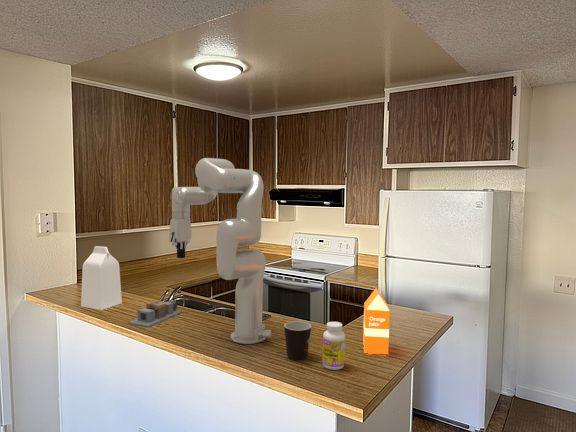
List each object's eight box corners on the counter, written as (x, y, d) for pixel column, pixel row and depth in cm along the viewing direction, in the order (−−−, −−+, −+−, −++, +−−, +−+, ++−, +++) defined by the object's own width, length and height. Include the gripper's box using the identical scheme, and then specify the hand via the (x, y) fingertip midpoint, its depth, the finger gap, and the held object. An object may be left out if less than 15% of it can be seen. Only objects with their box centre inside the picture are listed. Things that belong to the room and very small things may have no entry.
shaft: (177, 308, 174) (177, 302, 174) (152, 319, 160) (151, 312, 160) (169, 307, 175) (169, 301, 175) (144, 317, 162) (144, 310, 161)
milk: (80, 306, 179) (79, 247, 177) (102, 299, 190) (101, 244, 188) (101, 310, 174) (100, 249, 173) (121, 303, 185) (121, 246, 183)
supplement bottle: (318, 366, 122) (319, 324, 121) (328, 359, 128) (329, 319, 127) (338, 372, 119) (339, 329, 118) (348, 364, 124) (349, 323, 123)
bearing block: (181, 312, 172) (181, 301, 172) (148, 327, 154) (148, 315, 154) (162, 309, 176) (162, 298, 176) (127, 323, 158) (127, 311, 157)
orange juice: (363, 354, 132) (365, 293, 131) (362, 343, 141) (364, 286, 140) (388, 355, 131) (390, 294, 130) (385, 345, 140) (387, 287, 139)
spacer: (165, 316, 165) (165, 303, 165) (159, 319, 162) (158, 305, 161) (153, 314, 168) (153, 301, 168) (146, 316, 164) (146, 303, 164)
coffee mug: (300, 364, 124) (301, 332, 123) (278, 357, 129) (278, 326, 128) (321, 352, 133) (321, 322, 132) (299, 346, 138) (300, 317, 137)
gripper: (184, 214, 185) (184, 254, 186) (162, 216, 171) (162, 259, 173) (198, 215, 182) (198, 255, 183) (176, 217, 169) (177, 261, 170)
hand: (181, 257), depth 178 cm, fingers closed
